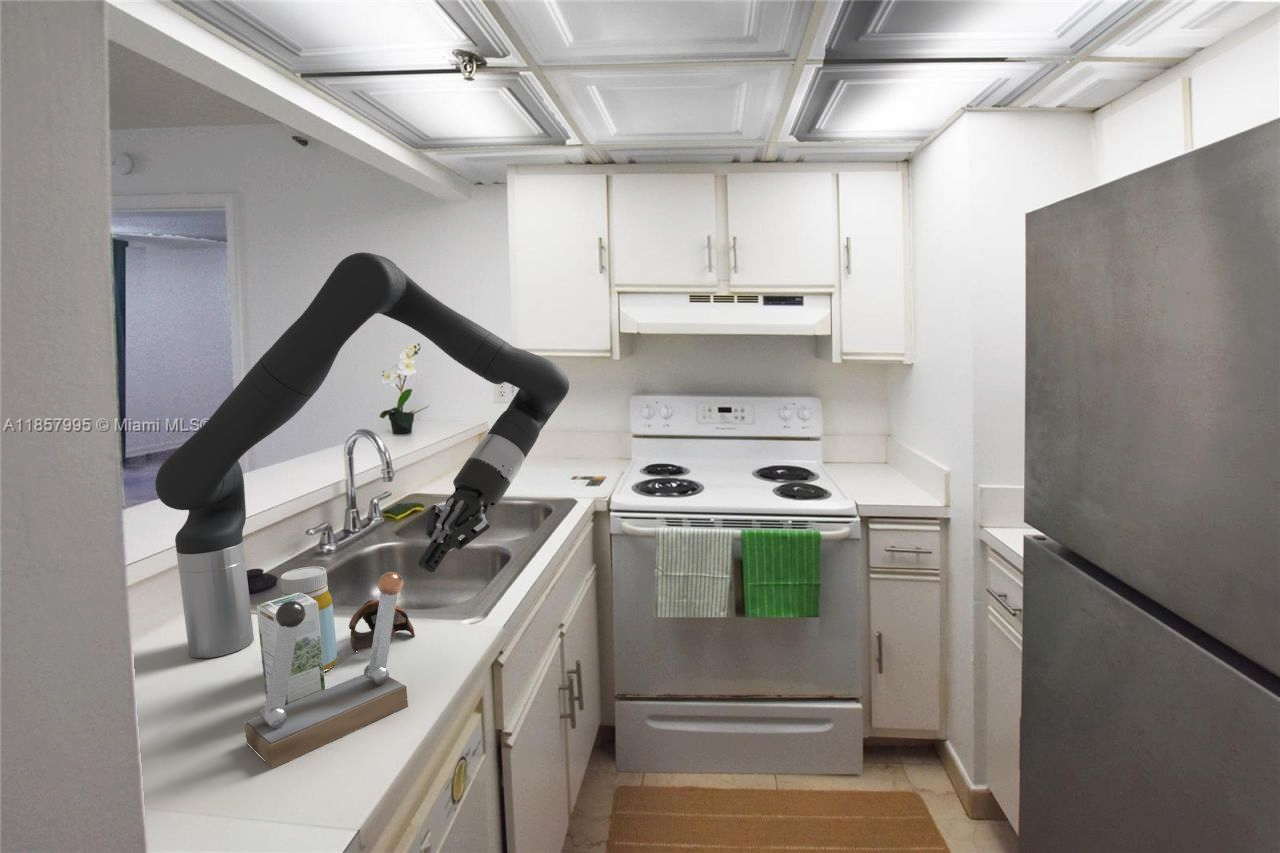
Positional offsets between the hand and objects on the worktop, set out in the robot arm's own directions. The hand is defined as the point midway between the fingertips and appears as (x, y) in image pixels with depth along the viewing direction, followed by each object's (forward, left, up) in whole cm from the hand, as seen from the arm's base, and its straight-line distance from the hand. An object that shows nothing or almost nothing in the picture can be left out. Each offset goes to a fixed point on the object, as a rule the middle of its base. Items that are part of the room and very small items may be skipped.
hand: (424, 568), depth 95 cm
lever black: (0, -21, -12) cm, 25 cm away
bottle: (-18, -9, -17) cm, 27 cm away
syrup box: (-9, -15, -17) cm, 24 cm away
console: (0, -15, -16) cm, 22 cm away
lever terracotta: (0, -8, -12) cm, 15 cm away
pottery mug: (-19, +2, -17) cm, 25 cm away
